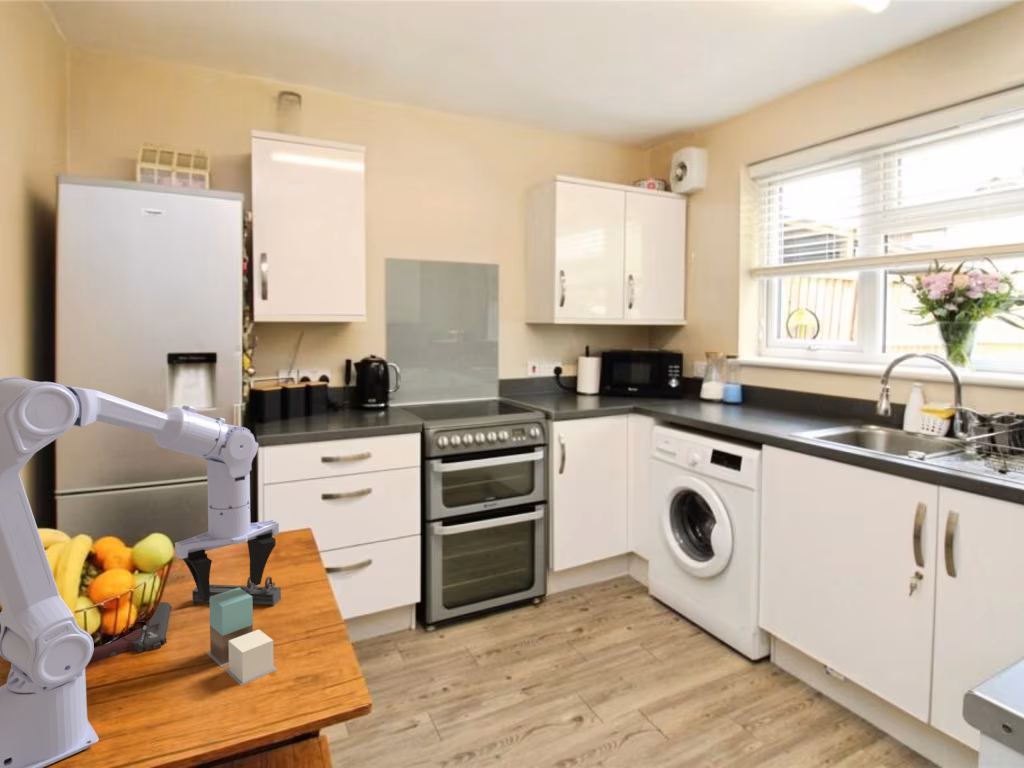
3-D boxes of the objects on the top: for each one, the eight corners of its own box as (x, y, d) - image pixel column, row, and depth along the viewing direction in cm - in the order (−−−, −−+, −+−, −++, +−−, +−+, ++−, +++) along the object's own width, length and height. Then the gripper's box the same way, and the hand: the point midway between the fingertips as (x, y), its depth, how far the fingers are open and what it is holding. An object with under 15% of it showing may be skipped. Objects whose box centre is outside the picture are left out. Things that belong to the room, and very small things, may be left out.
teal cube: (209, 625, 89) (209, 596, 88) (239, 614, 92) (239, 587, 92) (222, 635, 86) (222, 606, 85) (252, 624, 89) (252, 596, 89)
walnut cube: (223, 664, 86) (222, 635, 86) (210, 652, 89) (210, 624, 89) (253, 652, 90) (252, 624, 89) (240, 641, 93) (239, 614, 92)
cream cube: (242, 682, 82) (242, 652, 82) (229, 669, 85) (228, 640, 85) (273, 669, 85) (273, 640, 85) (259, 657, 88) (258, 629, 88)
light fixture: (202, 599, 108) (201, 570, 108) (281, 602, 108) (280, 573, 107) (192, 607, 105) (191, 578, 105) (273, 610, 105) (273, 581, 104)
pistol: (90, 626, 98) (172, 611, 104) (70, 673, 85) (165, 653, 90) (90, 612, 98) (172, 598, 104) (69, 656, 85) (165, 637, 90)
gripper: (187, 520, 79) (189, 616, 81) (288, 499, 90) (288, 583, 91) (168, 509, 84) (171, 599, 85) (266, 490, 95) (267, 570, 96)
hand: (230, 590), depth 89 cm, fingers open, 7 cm apart
